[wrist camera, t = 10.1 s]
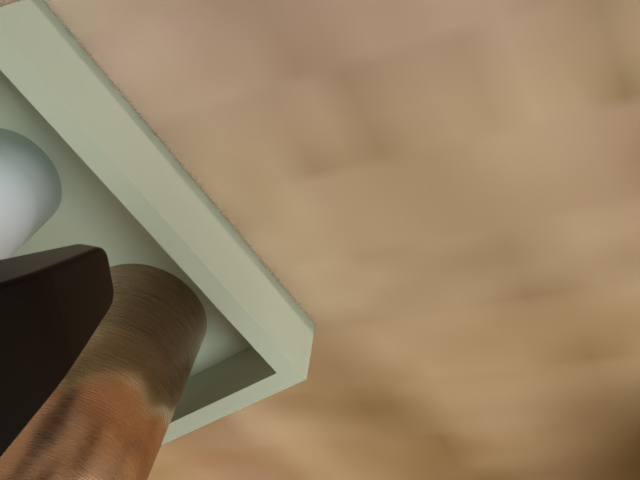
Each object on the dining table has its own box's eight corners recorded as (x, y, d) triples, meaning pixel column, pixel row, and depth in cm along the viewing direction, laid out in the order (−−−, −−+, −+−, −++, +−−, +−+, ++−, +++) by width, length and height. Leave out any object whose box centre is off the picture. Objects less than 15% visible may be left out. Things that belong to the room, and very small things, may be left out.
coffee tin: (55, 297, 25) (-187, 596, 14) (148, 238, 23) (-53, 535, 12) (143, 381, 27) (-13, 697, 16) (235, 334, 25) (125, 657, 14)
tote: (-149, 167, 23) (-221, 204, 20) (38, -5, 19) (-19, 12, 16) (127, 417, 29) (100, 472, 26) (315, 325, 25) (306, 379, 22)
